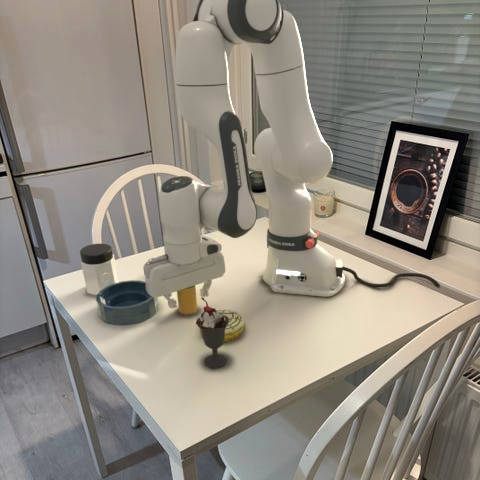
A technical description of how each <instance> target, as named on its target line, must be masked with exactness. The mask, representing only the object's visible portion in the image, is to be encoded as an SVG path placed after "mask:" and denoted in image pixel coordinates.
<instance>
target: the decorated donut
mask: <svg viewBox="0 0 480 480" xmlns="http://www.w3.org/2000/svg"><path fill="white" fill-rule="evenodd" d="M217 310H218V311H219V313H220V314H222V315H225V316H227V317H228V318H229V322H228V325H227V326H226V328H225V337H224V342H229V341H233V340H234V339H236V338H238V337H239V336H240V335H241V334H242V333H243V331H244V329H245V325H246V321H245V318H244V317H243V315H242V314H240V313H238V312H236V311H234V310H229V309H221V308H220V309H217ZM198 329H199V331H200V333H201V334H202V331H201V329H200V328H199V327H198Z"/></svg>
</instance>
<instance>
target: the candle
mask: <svg viewBox="0 0 480 480" xmlns="http://www.w3.org/2000/svg"><path fill="white" fill-rule="evenodd" d="M176 298H177V307H178V312H179V313H180V314H182V315H192V314H195V313H197V311H198V302H197V301H198V300H197V289H196V285H194V286H191V287H188V288H185V289H182V290H179V291H176Z"/></svg>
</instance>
